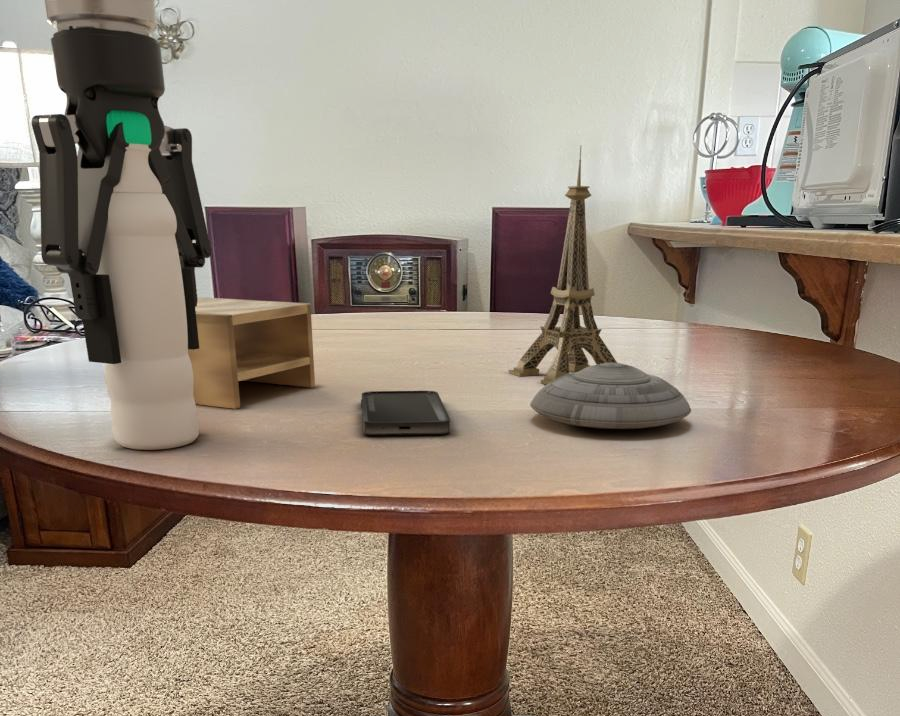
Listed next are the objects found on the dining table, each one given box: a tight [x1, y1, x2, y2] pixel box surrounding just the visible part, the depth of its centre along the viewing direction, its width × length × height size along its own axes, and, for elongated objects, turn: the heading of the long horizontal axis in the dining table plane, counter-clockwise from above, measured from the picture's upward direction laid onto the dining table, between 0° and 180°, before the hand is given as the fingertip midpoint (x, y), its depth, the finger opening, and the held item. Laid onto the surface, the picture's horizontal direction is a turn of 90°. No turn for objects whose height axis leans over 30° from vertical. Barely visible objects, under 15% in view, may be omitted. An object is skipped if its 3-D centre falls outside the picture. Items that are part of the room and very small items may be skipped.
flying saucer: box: [529, 362, 692, 430], centre depth 83 cm, size 15×15×6 cm
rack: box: [188, 296, 316, 410], centre depth 96 cm, size 16×14×9 cm
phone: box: [360, 390, 451, 436], centre depth 85 cm, size 8×1×15 cm
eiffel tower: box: [508, 144, 618, 385], centre depth 102 cm, size 11×11×25 cm
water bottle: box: [96, 110, 200, 451], centre depth 71 cm, size 7×7×25 cm
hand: (146, 354), depth 73 cm, fingers open, 8 cm apart
